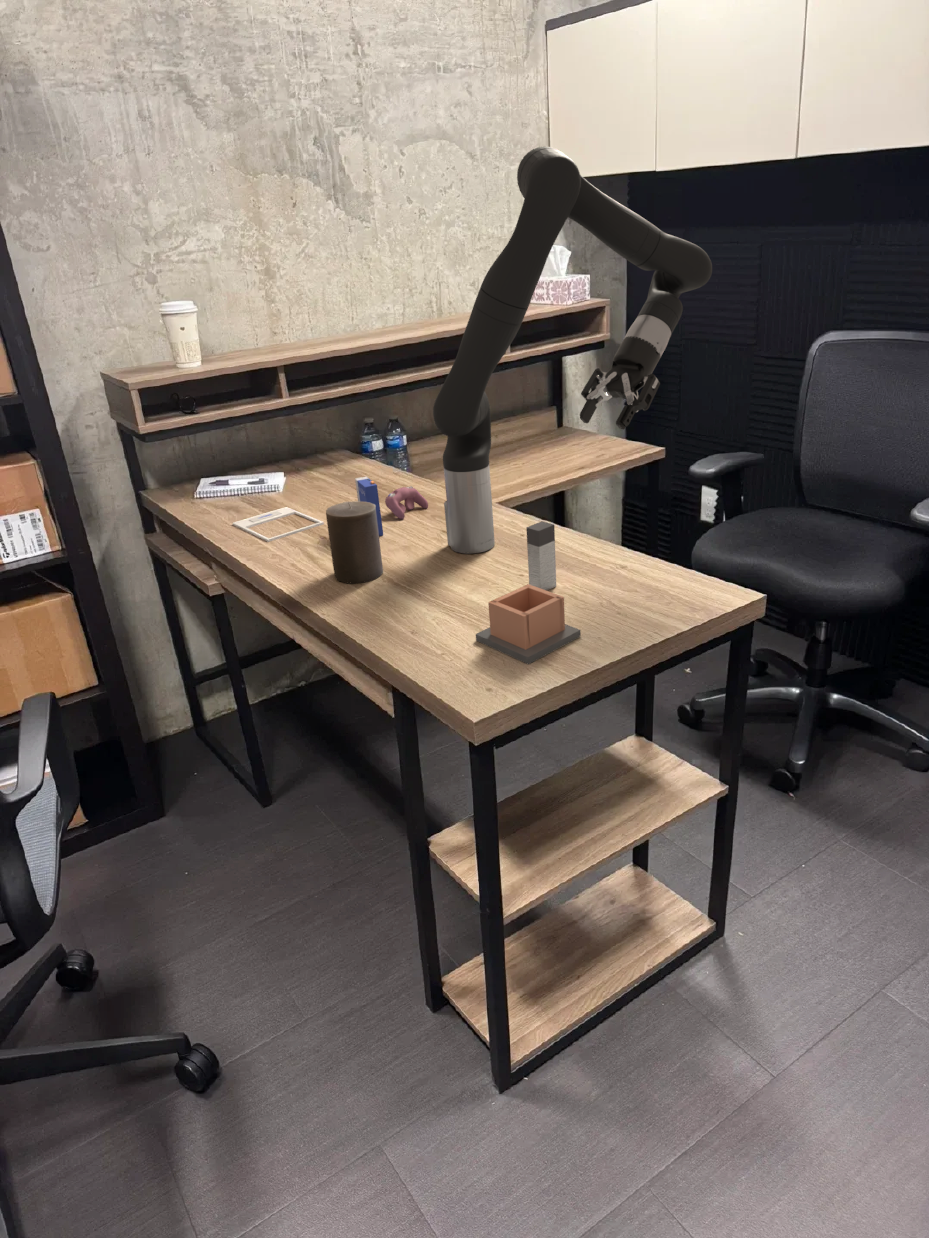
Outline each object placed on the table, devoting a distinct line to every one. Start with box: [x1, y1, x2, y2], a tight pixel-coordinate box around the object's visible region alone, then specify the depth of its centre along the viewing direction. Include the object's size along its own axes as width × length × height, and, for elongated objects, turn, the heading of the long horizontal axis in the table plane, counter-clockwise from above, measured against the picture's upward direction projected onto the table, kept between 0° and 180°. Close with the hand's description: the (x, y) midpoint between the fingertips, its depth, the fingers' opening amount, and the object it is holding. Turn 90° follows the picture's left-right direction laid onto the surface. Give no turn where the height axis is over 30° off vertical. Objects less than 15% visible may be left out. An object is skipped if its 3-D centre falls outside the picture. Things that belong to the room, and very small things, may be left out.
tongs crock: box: [475, 583, 582, 665], centre depth 134 cm, size 12×12×7 cm
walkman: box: [354, 476, 384, 537], centre depth 185 cm, size 8×3×12 cm, turn 23°
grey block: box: [525, 520, 557, 591], centre depth 150 cm, size 3×4×12 cm
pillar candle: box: [325, 500, 384, 585], centre depth 162 cm, size 10×10×15 cm
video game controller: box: [384, 485, 429, 520], centre depth 197 cm, size 10×5×7 cm, turn 141°
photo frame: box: [232, 506, 325, 543], centre depth 197 cm, size 15×1×18 cm
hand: (601, 423), depth 151 cm, fingers open, 8 cm apart
